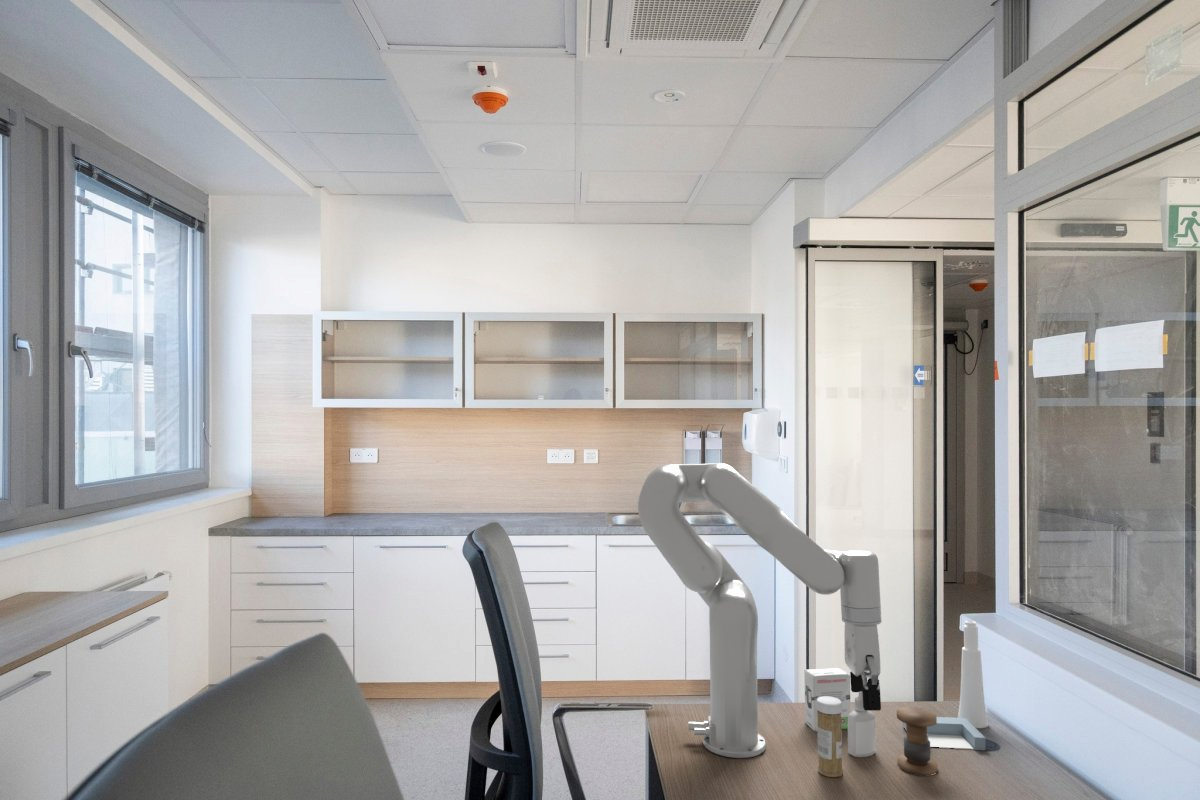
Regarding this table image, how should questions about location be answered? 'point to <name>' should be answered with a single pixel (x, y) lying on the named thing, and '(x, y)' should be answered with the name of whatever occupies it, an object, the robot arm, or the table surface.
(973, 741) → the notched board
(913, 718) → the spool
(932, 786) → the table surface
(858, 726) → the eye dropper bottle
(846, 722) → the ink box
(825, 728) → the sprinkles bottle
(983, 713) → the cosmetic bottle
